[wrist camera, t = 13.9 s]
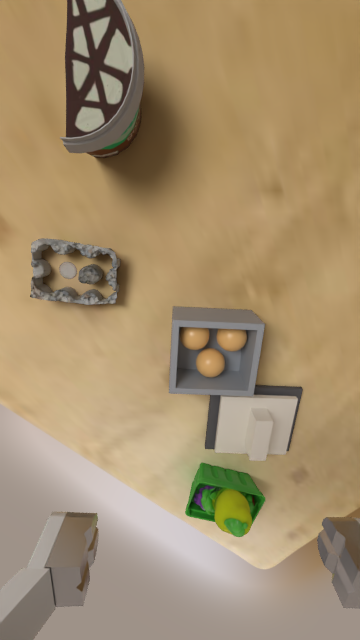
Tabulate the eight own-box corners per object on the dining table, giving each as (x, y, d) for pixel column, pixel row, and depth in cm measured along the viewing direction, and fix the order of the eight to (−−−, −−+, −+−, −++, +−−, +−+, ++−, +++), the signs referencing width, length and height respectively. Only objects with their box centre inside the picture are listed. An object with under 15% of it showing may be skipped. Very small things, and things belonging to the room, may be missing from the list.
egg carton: (41, 291, 36) (25, 298, 33) (41, 234, 34) (24, 235, 30) (119, 303, 37) (112, 312, 33) (124, 248, 35) (118, 250, 31)
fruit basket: (182, 487, 48) (185, 561, 37) (198, 449, 45) (206, 517, 34) (241, 500, 49) (260, 575, 38) (260, 464, 46) (286, 534, 36)
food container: (146, 179, 32) (134, 157, 23) (94, 171, 32) (60, 145, 22) (157, 51, 28) (149, -40, 19) (99, 39, 28) (60, -59, 18)
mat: (300, 387, 42) (302, 389, 41) (287, 448, 45) (288, 451, 45) (211, 383, 41) (212, 385, 41) (204, 446, 45) (205, 448, 44)
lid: (293, 393, 41) (307, 412, 37) (281, 447, 45) (293, 470, 40) (220, 390, 41) (225, 409, 36) (213, 445, 44) (218, 468, 40)
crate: (251, 310, 38) (265, 324, 32) (242, 373, 41) (253, 396, 35) (172, 306, 37) (172, 320, 31) (169, 370, 40) (169, 393, 35)
